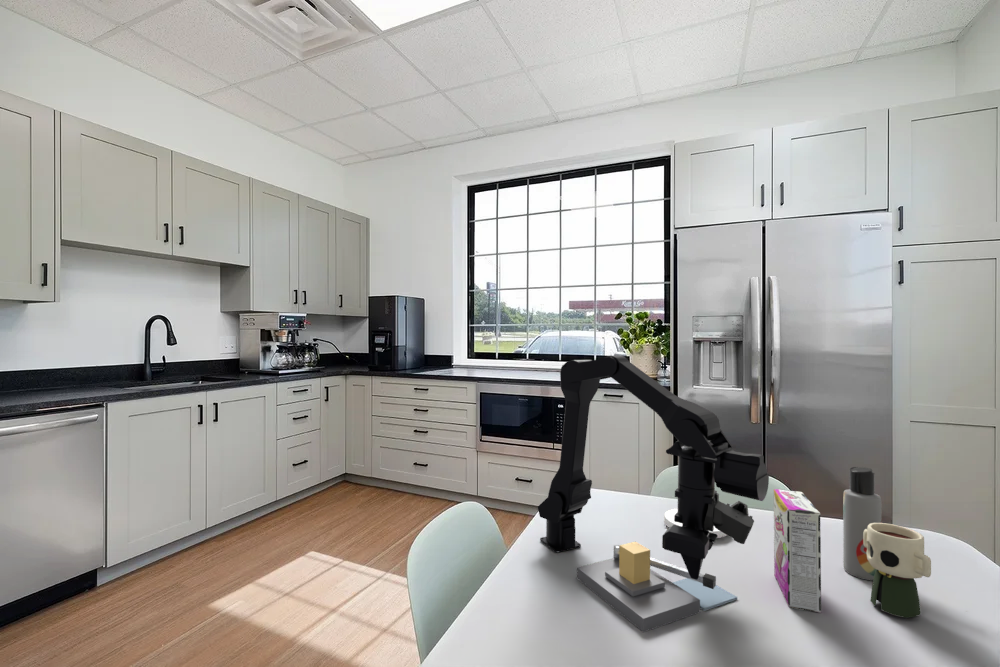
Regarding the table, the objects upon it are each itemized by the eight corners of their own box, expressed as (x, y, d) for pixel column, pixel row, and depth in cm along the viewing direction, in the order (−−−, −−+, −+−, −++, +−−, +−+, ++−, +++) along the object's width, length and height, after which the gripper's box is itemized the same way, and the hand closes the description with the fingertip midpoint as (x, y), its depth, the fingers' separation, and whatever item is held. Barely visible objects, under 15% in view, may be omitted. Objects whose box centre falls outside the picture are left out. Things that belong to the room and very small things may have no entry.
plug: (604, 588, 80) (605, 543, 80) (635, 580, 83) (635, 536, 83) (632, 610, 74) (633, 560, 74) (664, 600, 77) (665, 552, 77)
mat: (666, 586, 81) (666, 584, 81) (698, 576, 84) (698, 574, 84) (704, 610, 74) (704, 608, 74) (737, 599, 77) (737, 596, 77)
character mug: (846, 593, 79) (846, 518, 80) (882, 591, 80) (882, 517, 81) (909, 633, 69) (909, 546, 69) (950, 630, 70) (950, 544, 70)
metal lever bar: (612, 558, 86) (612, 546, 86) (615, 555, 87) (615, 543, 87) (713, 593, 74) (713, 580, 74) (715, 590, 76) (715, 576, 76)
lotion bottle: (888, 582, 83) (888, 473, 84) (853, 579, 84) (853, 471, 85) (870, 567, 89) (870, 465, 89) (837, 564, 90) (837, 463, 90)
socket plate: (576, 578, 83) (576, 567, 83) (627, 564, 88) (627, 554, 88) (643, 632, 68) (643, 618, 68) (699, 612, 73) (700, 599, 73)
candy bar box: (771, 575, 85) (772, 487, 86) (803, 580, 84) (803, 491, 84) (786, 608, 75) (786, 507, 75) (822, 614, 73) (822, 512, 73)
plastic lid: (657, 532, 105) (657, 521, 105) (672, 514, 116) (672, 504, 116) (723, 549, 97) (723, 537, 97) (733, 527, 108) (733, 516, 108)
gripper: (742, 511, 64) (741, 623, 64) (756, 481, 80) (755, 571, 79) (662, 495, 71) (660, 596, 70) (689, 470, 86) (687, 553, 86)
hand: (694, 578), depth 76 cm, fingers closed
